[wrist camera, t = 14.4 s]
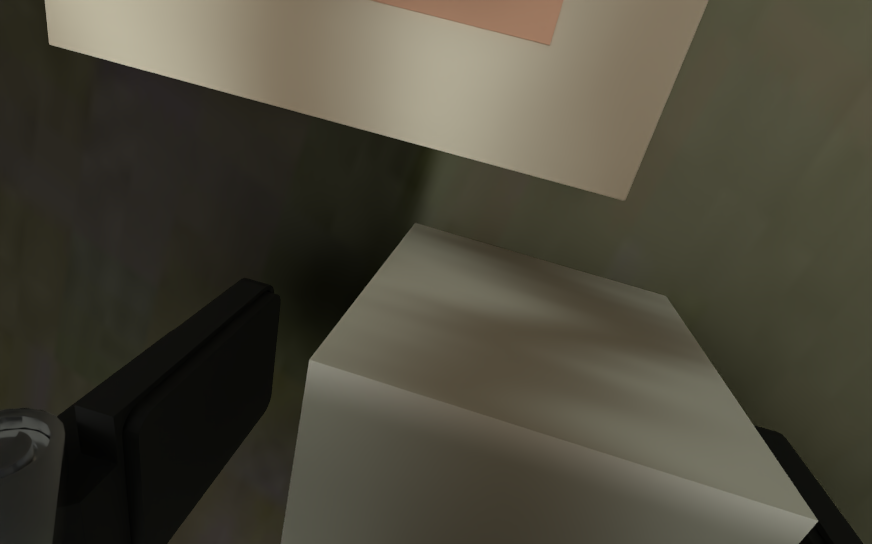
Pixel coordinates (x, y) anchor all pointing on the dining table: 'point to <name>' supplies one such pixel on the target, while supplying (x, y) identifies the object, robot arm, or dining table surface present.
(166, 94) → the dining table surface
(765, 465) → the cream block
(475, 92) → the board
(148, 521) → the robot arm
